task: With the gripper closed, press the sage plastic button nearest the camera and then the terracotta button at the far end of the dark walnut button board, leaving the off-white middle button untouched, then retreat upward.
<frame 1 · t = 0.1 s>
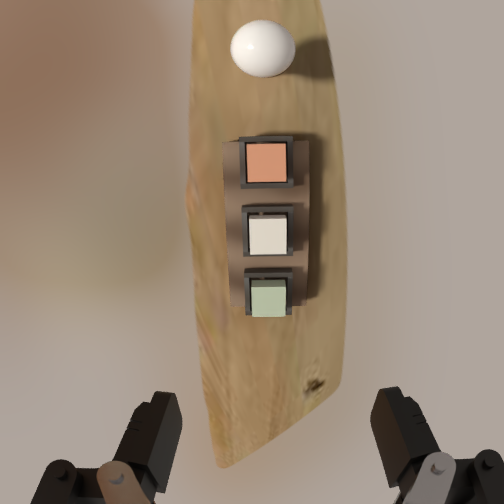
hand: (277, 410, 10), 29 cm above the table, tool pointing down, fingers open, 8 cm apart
offwhite button: (267, 234, 34), point 4 cm above the table, slide at 0.0 cm
terracotta button: (266, 162, 31), point 5 cm above the table, slide at 0.0 cm
button board: (267, 225, 38), on the table
lightbulb: (263, 69, 32), on the table
sage button: (268, 298, 36), point 4 cm above the table, slide at 0.0 cm
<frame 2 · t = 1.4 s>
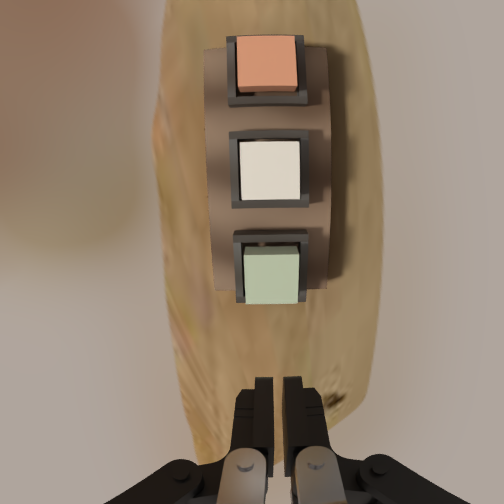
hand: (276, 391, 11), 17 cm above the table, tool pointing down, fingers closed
offwhite button: (269, 169, 21), point 5 cm above the table, slide at 0.0 cm
terracotta button: (266, 63, 18), point 5 cm above the table, slide at 0.0 cm
button board: (268, 167, 25), on the table
sage button: (271, 275, 23), point 5 cm above the table, slide at 0.0 cm
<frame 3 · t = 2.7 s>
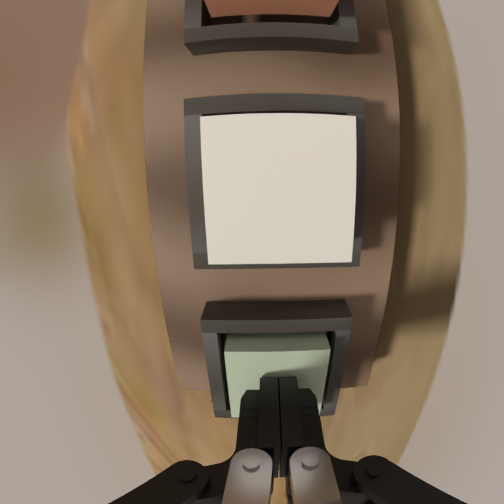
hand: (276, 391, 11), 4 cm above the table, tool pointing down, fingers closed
offwhite button: (278, 185, 8), point 4 cm above the table, slide at 0.0 cm
button board: (273, 174, 13), on the table
sage button: (276, 372, 12), point 3 cm above the table, slide at 1.3 cm, touching gripper
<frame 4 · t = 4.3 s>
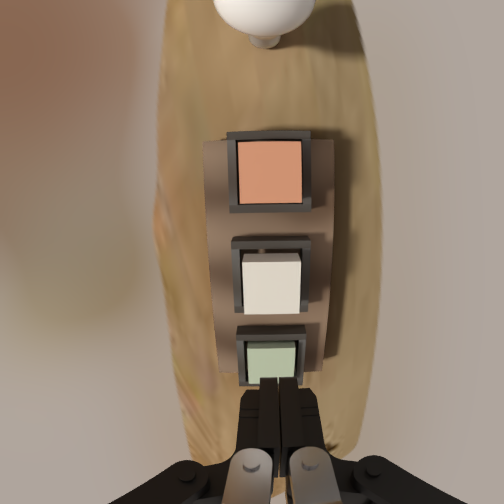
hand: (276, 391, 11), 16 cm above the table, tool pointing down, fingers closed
offwhite button: (271, 283, 22), point 4 cm above the table, slide at 0.0 cm
terracotta button: (270, 171, 20), point 4 cm above the table, slide at 0.0 cm
button board: (270, 263, 26), on the table
lightbulb: (264, 39, 21), on the table
sage button: (271, 360, 25), point 3 cm above the table, slide at 1.3 cm
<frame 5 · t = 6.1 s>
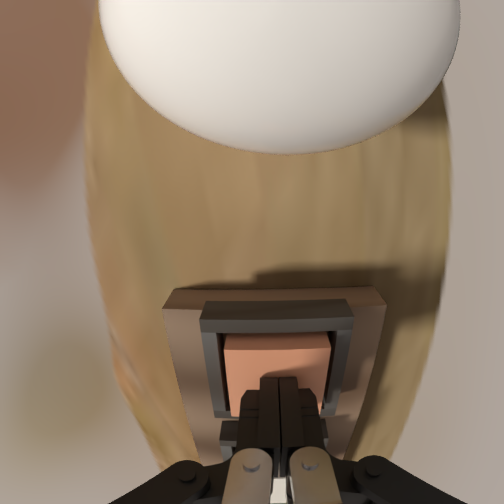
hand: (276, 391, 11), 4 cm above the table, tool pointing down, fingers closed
offwhite button: (273, 478, 13), point 4 cm above the table, slide at 0.0 cm
terracotta button: (276, 371, 12), point 3 cm above the table, slide at 1.4 cm, touching gripper
button board: (272, 424, 18), on the table
lightbulb: (271, 84, 11), on the table
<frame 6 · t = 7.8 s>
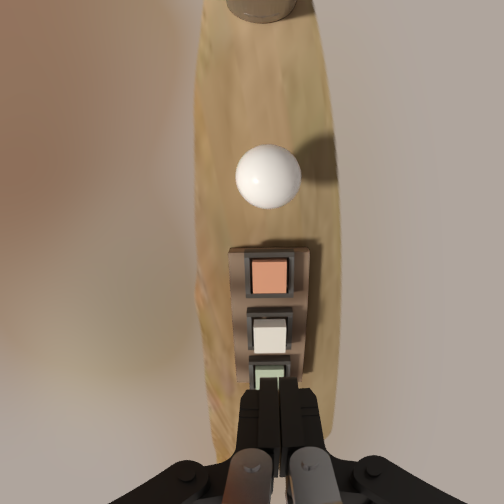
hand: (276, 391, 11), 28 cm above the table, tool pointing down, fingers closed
offwhite button: (269, 336, 37), point 4 cm above the table, slide at 0.0 cm
terracotta button: (269, 274, 36), point 3 cm above the table, slide at 1.4 cm
button board: (269, 318, 42), on the table
lightbulb: (267, 172, 36), on the table
sage button: (269, 375, 41), point 3 cm above the table, slide at 1.3 cm
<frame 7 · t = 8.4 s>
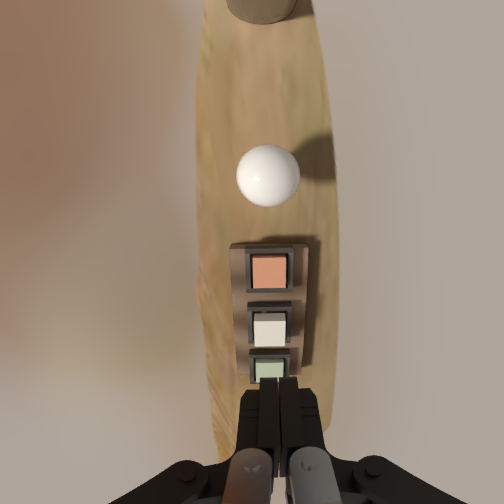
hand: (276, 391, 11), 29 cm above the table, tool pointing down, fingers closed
offwhite button: (269, 330, 39), point 4 cm above the table, slide at 0.0 cm
terracotta button: (269, 270, 37), point 3 cm above the table, slide at 1.4 cm
button board: (269, 313, 43), on the table
lightbulb: (267, 171, 37), on the table
sage button: (269, 368, 42), point 3 cm above the table, slide at 1.3 cm
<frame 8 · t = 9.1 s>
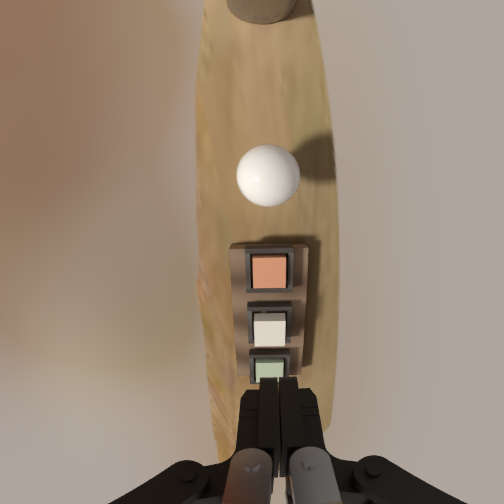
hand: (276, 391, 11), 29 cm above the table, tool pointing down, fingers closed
offwhite button: (269, 330, 39), point 4 cm above the table, slide at 0.0 cm
terracotta button: (269, 270, 37), point 3 cm above the table, slide at 1.4 cm
button board: (269, 313, 43), on the table
lightbulb: (267, 171, 37), on the table
sage button: (269, 368, 42), point 3 cm above the table, slide at 1.3 cm
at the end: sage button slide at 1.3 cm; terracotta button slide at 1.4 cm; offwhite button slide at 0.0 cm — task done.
